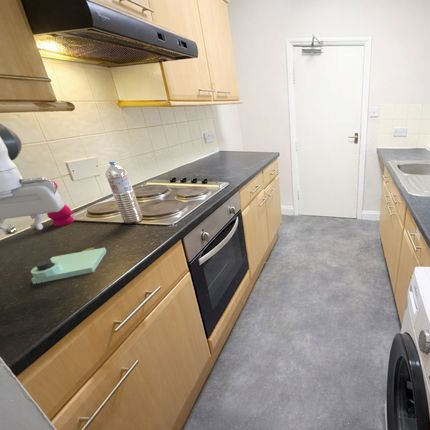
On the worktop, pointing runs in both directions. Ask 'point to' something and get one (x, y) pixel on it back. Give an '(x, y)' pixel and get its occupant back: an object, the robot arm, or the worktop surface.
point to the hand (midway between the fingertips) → (25, 231)
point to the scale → (69, 265)
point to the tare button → (44, 265)
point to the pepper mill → (60, 213)
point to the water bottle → (123, 194)
